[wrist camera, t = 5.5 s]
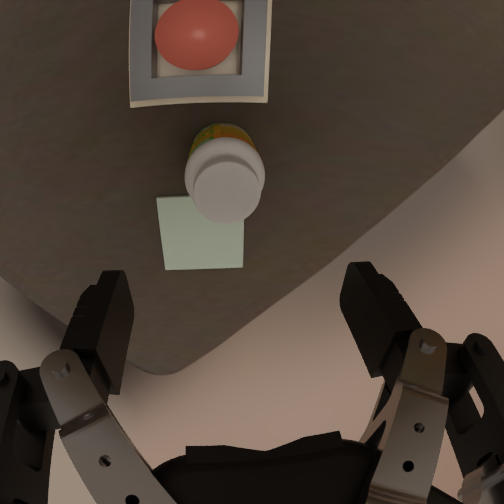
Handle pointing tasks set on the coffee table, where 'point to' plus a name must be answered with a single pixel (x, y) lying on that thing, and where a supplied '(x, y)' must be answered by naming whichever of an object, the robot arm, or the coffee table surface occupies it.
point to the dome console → (200, 81)
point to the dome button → (196, 34)
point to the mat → (197, 237)
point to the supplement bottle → (224, 173)
